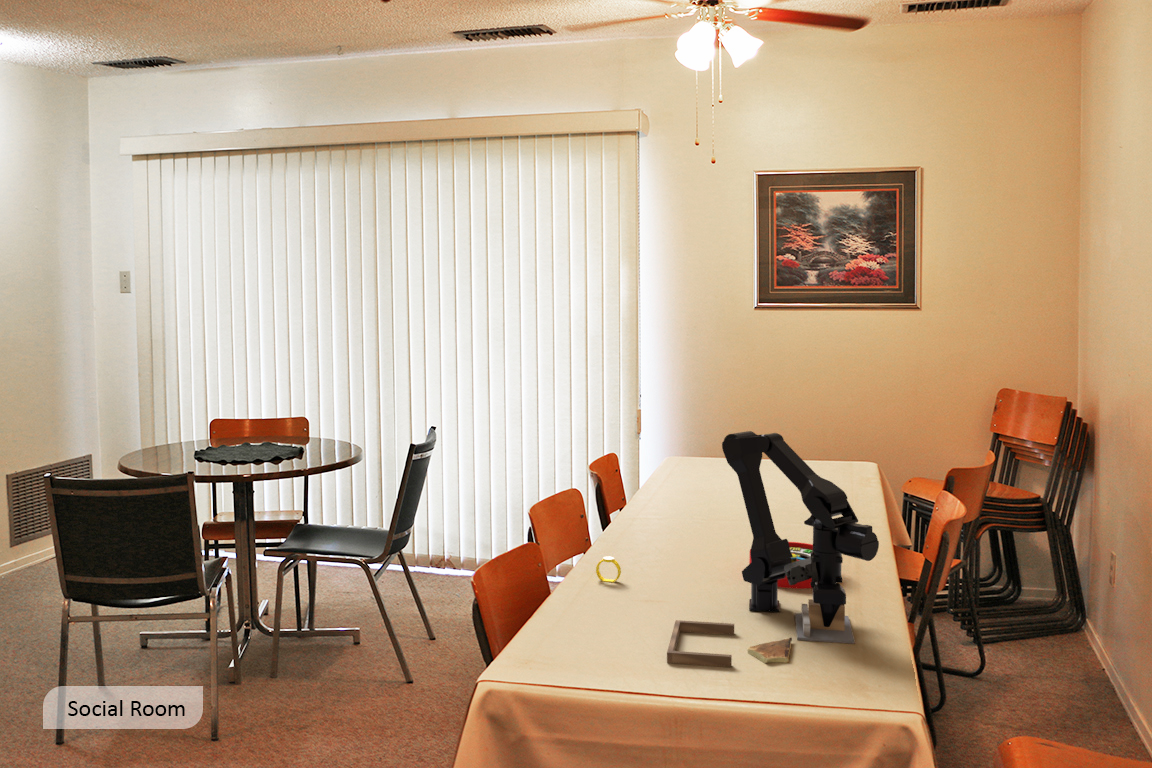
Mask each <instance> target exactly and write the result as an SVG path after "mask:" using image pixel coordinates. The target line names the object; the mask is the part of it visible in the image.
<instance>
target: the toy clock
mask: <svg viewBox="0 0 1152 768" xmlns="http://www.w3.org/2000/svg"><path fill="white" fill-rule="evenodd" d="M788 542H789V548H790V552H791V554H792V555H793V557H791V561H792V563H793V562H796V561H799V560H803V559H808V558H811V552H812V550H813V543H805V542H798V541H797V542H796V541H788ZM750 550H751V548H750V549H749V551H750ZM748 563H749V564H750V563H751V554H750V553H749V562H748ZM749 564H748V565H749ZM810 582H812V581H811V579H809V580H805V581H802V582H798V583H797V584H795V585H789V582H788V579H787V576H786V577H785V578H784V579H779V580H778V588H784V589H800V590H801V589H813V588H812V587H811V583H810Z"/></svg>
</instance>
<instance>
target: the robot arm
mask: <svg viewBox="0 0 1152 768" xmlns="http://www.w3.org/2000/svg"><path fill="white" fill-rule="evenodd" d="M721 448H722V449H721V450H722V452H723V454H724V457H725V460H726V463H727V464H728V465H729V466H730V467H731V469H732V470H733V471H734V473H736V475H737V477H738V481H739V486H740V489H741V492H742V493H741V494H742V497H743V501H744V505H745V509H746V513H747V514H746V515H747V517H748V520H749V521H748V522H749V526H750V529H751V534H752V543H751V547H750V549H751V550H750V549H749V555H750V554H751V563H750V564H748V565H747V566H746V567H745V568H744V569H743V570H742V571H741V575H742V578H743V581H744V582H747V583H749V584H750V585H751V588H750V590H751V591H750V594H751V596H750V597H751V598H749V599H748V600H749V606H748V610H749V611H756V612H770V613H780V600H779V598H778V595H779V594H778V589H779V587H778V580H779V579H784V578H785V577H786V576H787V579H788V582H789V585H795V584H797V583H798V582H802V581H805V580H809V579H811V581H812V582H810V583H811V587H812V588H811V589H812V594H811V596H812V599H813V602H814V603H817V604H820V607H821V612H822V618H823V623H824V627H830V625H831V623H832V621H833V619H834V617H835V615H836V613H837V611H838V609H839V607H840V605H844V606H845V605H847V593H846V590H845V588H844V587H843V586H842V585H841V584H842V583H843V576H842V564H843V561H844V558H843V556H848V557H851V558H855V559H859V560H863V561H866V562H869V561H872V560H873V559H874V558H875V557H876V555H877V553H878V552H879V546H880V545H879V544H880V543H879V540H878V536H877V534H876V533H875V532H873V526H872V525H869V524H861V523H858V522H859V519H858V517H857V515H856V513H855V512H854V509H853V508H852V506H851V505H850V502H849V501H848V496H847V493H846V492H845V491H844V490H843V489H841V487H839V486H838V485H836V484H835V483H834V482H832V481H830V480H827V479H825V478H823V477H822V476H820V475H818V474H817V473H816V472H815V471H814V470H813V469H812V468H811V467H810V466H809V465H808V464H807V463H806V462H805V461H804V459H803V458H801V457H800V456H799V454H798V453H796V451H795V450H794V449H793V448H792V447H791V446H790V445H788V443H787V442H786V441H785V439H784V437H783V436H782V435H781V434H780V433H777V432H772V433H765V434H757V433H755V432H754V431H751V430H749V431H748V430H747V431H741V432H734V433H729V434H727V435H726V436H725V437H724V438H723V441H722V443H721ZM763 454H765V455H766V456H767V458H768V459H770V461H771V462H772V463H773V464H774V465H775V467H777V468H778V469H779V470H780V471H781V472H782V474H783V475H784V476H785V477H786V478H787V479H788V480H789V482H791V483H792V484H793V486H795V488H796V489H797V490H798V491H799V493H800V496H801V501H802V503H803V504H804V506H805V507H806V509H807V510H808V512H809V513H810V517H808V518H807V519H806V520H804V521H803V523H804V525H807V526H810V527H812V545H813V550H812V552H811V558H808V559H803V560H799V561H796V562H793V563H792V561H791V557H793V555H792V554H791V552H790V548H789V542H790V541H789V540H788V538H784V539H782V538H781V537H780V536H779V535H778V534H777V532H776V528H775V524H774V520H773V517H772V514H771V509H770V505H769V501H768V498H767V493H766V490H765V485H764V482H763V478H762V475H761V470H760V469H761V468H760V467H761V464H762V460H763V459H762V458H763ZM840 515H841V516H840ZM837 516H838V517H837ZM834 517H835V518H834Z"/></svg>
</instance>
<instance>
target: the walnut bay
mask: <svg viewBox="0 0 1152 768" xmlns="http://www.w3.org/2000/svg"><path fill="white" fill-rule="evenodd" d="M681 632H682V633H683V632H684V633H696V634H697V633H698V634H710V635H711V634H712V635H713V634H714V635H728V636H730V635H731V636H734V635H735V623H732V622H731V623H728V622H711V621H710V622H709V621H694V620H681V619H679V620H678V619H675V621H674V625H673V628H672V632H671V635H670V636H671V637H670V640H669V643H668V648H667V651H666V663H667V664H678V665H679V664H680V665H694V666H695V665H696V666H707V667H708V666H709V667H723V668H732V663H733V662H732V661H733V658H732V654H728V653H727V654H726V653H725V654H724V653H709V652H698V651H697V652H693V651H680V650H676V649H677V646H678V641H679V639H680V638H679V637H680V633H681Z"/></svg>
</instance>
